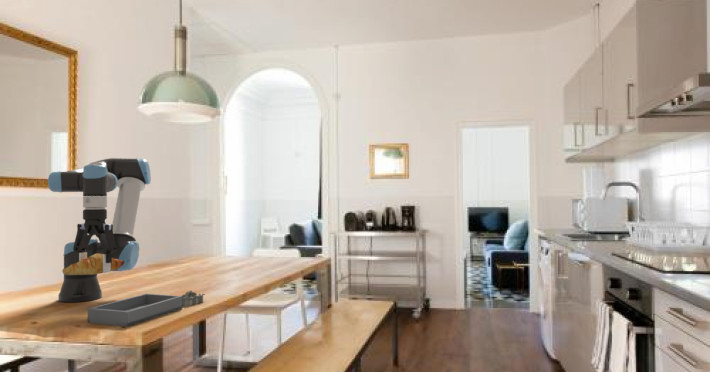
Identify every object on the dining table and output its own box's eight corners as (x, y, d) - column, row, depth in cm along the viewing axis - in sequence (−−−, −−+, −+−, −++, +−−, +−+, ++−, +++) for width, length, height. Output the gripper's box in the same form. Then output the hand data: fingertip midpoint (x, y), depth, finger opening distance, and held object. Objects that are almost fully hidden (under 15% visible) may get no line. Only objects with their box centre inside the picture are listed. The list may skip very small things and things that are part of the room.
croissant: (67, 287, 163) (72, 267, 161) (54, 271, 168) (58, 251, 166) (127, 277, 181) (132, 258, 178) (114, 262, 186) (119, 244, 183)
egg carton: (191, 300, 193) (191, 289, 193) (207, 301, 190) (207, 291, 190) (171, 305, 183) (171, 294, 183) (187, 307, 180) (187, 296, 180)
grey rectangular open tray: (87, 322, 157) (87, 308, 157) (146, 305, 182) (146, 293, 182) (127, 326, 152) (127, 312, 152) (182, 308, 177) (182, 296, 177)
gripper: (61, 208, 174) (61, 271, 174) (111, 209, 167) (111, 274, 166) (79, 208, 181) (79, 268, 181) (128, 208, 174) (128, 271, 173)
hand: (94, 271), depth 173 cm, fingers closed on croissant, 10 cm apart
